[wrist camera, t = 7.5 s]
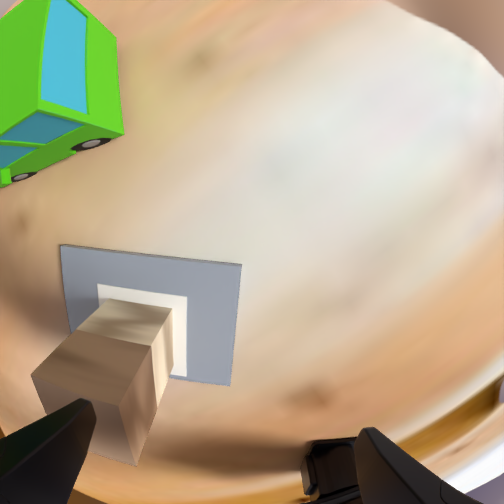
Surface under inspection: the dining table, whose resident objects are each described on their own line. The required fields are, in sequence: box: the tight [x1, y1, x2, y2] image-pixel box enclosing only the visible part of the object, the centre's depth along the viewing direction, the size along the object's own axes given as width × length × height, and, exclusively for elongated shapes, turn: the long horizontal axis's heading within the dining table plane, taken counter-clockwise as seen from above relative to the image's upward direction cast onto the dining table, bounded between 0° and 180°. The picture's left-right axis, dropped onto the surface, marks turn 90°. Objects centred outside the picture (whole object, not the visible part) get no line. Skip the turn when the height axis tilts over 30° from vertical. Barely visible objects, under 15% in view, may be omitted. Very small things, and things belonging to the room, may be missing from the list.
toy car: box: [0, 0, 124, 188], centre depth 12 cm, size 10×13×10 cm
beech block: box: [77, 298, 174, 408], centre depth 17 cm, size 5×5×5 cm
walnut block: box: [31, 329, 157, 467], centre depth 12 cm, size 5×5×5 cm
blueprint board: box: [60, 244, 242, 386], centre depth 20 cm, size 14×10×1 cm
